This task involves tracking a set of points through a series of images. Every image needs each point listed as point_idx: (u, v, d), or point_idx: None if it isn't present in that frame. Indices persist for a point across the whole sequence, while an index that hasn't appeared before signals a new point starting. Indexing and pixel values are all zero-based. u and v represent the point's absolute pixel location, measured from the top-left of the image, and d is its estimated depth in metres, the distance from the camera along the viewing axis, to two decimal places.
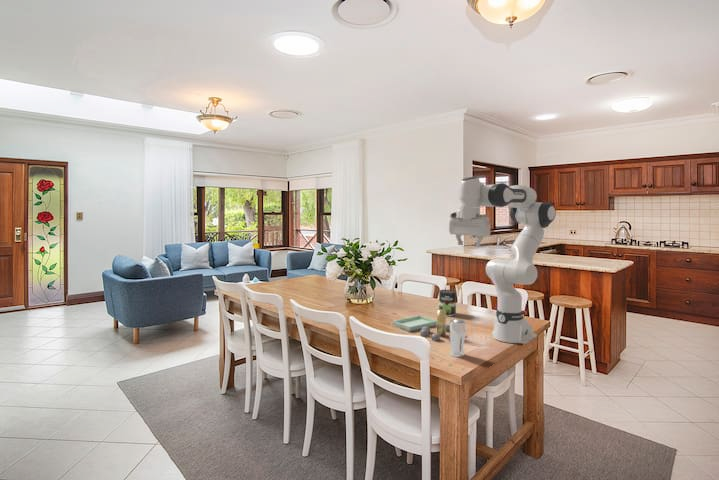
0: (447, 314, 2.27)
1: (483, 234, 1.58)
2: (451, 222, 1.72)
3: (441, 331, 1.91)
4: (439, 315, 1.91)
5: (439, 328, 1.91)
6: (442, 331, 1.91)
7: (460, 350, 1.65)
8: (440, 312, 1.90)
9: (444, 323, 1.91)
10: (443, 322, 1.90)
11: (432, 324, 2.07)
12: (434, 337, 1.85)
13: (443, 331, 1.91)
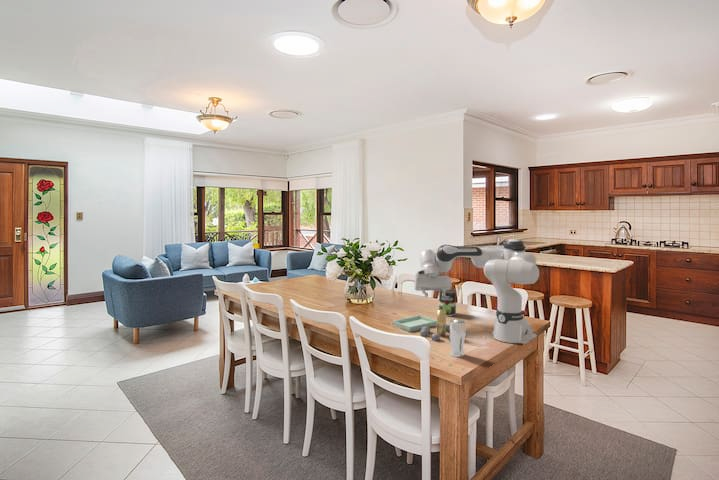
0: (447, 314, 2.27)
1: (450, 285, 2.07)
2: (418, 278, 2.08)
3: (441, 331, 1.91)
4: (439, 315, 1.91)
5: (439, 328, 1.91)
6: (442, 331, 1.91)
7: (460, 350, 1.65)
8: (440, 312, 1.90)
9: (444, 323, 1.91)
10: (443, 322, 1.90)
11: (432, 324, 2.07)
12: (434, 337, 1.85)
13: (443, 331, 1.91)
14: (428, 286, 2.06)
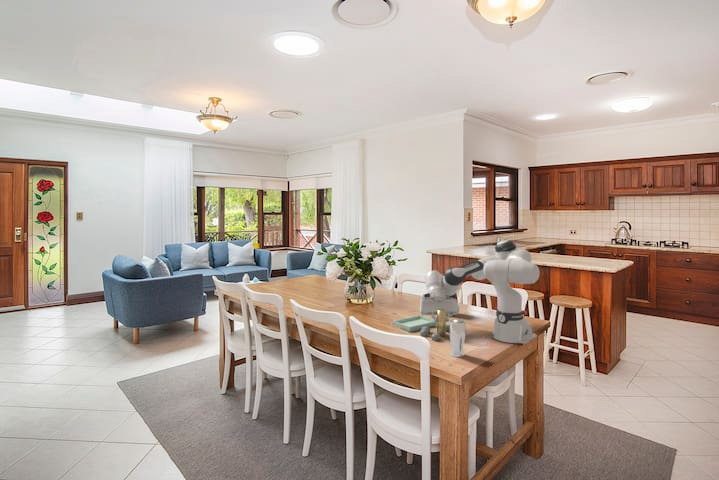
0: None
1: (458, 309, 1.95)
2: (423, 302, 1.96)
3: (441, 331, 1.91)
4: (439, 315, 1.91)
5: (439, 328, 1.91)
6: (442, 331, 1.91)
7: (460, 350, 1.65)
8: (440, 312, 1.90)
9: (444, 323, 1.91)
10: (443, 322, 1.90)
11: (432, 324, 2.07)
12: (434, 337, 1.85)
13: (443, 331, 1.91)
14: (434, 310, 1.94)
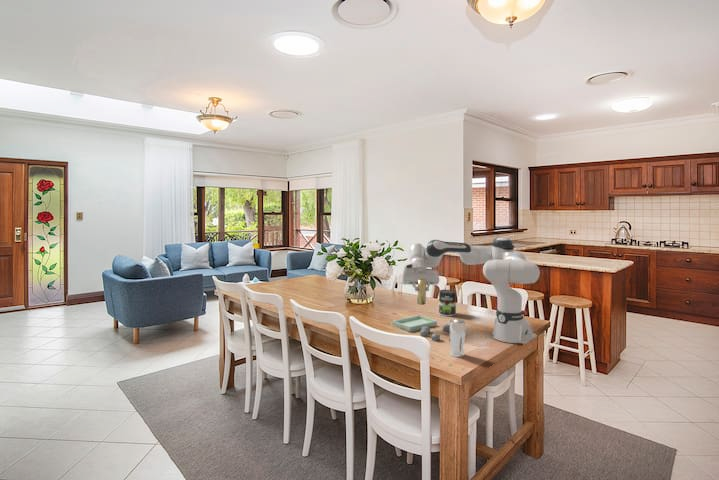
0: (447, 314, 2.27)
1: (437, 280, 2.06)
2: (405, 272, 2.08)
3: (421, 299, 2.03)
4: (419, 284, 2.02)
5: (419, 296, 2.03)
6: (422, 299, 2.03)
7: (460, 350, 1.65)
8: (420, 281, 2.02)
9: (424, 292, 2.03)
10: (423, 291, 2.02)
11: (432, 324, 2.07)
12: (434, 337, 1.85)
13: (423, 299, 2.03)
14: (415, 280, 2.06)
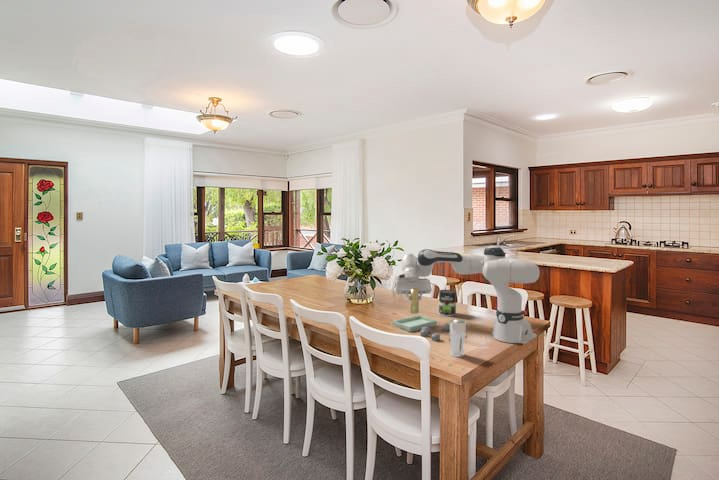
0: (447, 314, 2.27)
1: (430, 289, 2.11)
2: (398, 282, 2.12)
3: (414, 308, 2.07)
4: (412, 293, 2.07)
5: (412, 305, 2.07)
6: (415, 308, 2.07)
7: (460, 350, 1.65)
8: (413, 291, 2.06)
9: (417, 301, 2.07)
10: (416, 300, 2.07)
11: (432, 324, 2.07)
12: (434, 337, 1.85)
13: (416, 308, 2.07)
14: (408, 290, 2.10)
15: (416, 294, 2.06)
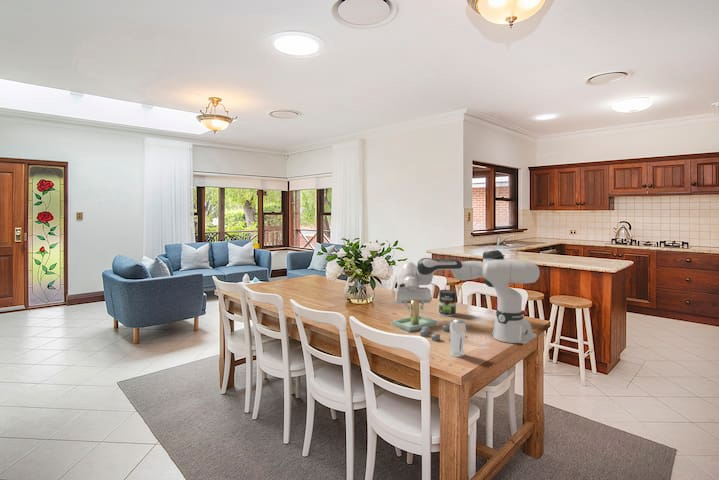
0: (447, 314, 2.27)
1: (430, 298, 2.11)
2: (398, 291, 2.12)
3: (414, 320, 2.07)
4: (412, 305, 2.07)
5: (412, 317, 2.08)
6: (415, 320, 2.07)
7: (460, 350, 1.65)
8: (413, 302, 2.07)
9: (417, 312, 2.07)
10: (416, 311, 2.07)
11: (432, 324, 2.07)
12: (434, 337, 1.85)
13: (416, 320, 2.07)
14: (408, 299, 2.10)
15: (416, 305, 2.07)
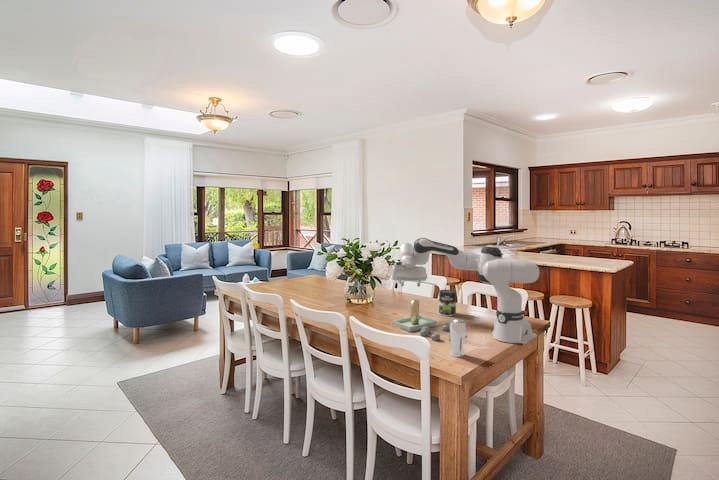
0: (447, 314, 2.27)
1: (425, 276, 2.19)
2: (395, 269, 2.21)
3: (414, 320, 2.07)
4: (412, 305, 2.07)
5: (412, 317, 2.08)
6: (415, 320, 2.07)
7: (460, 350, 1.65)
8: (413, 302, 2.07)
9: (417, 312, 2.07)
10: (416, 312, 2.07)
11: (432, 324, 2.07)
12: (434, 337, 1.85)
13: (416, 320, 2.07)
14: (404, 276, 2.18)
15: (416, 306, 2.07)
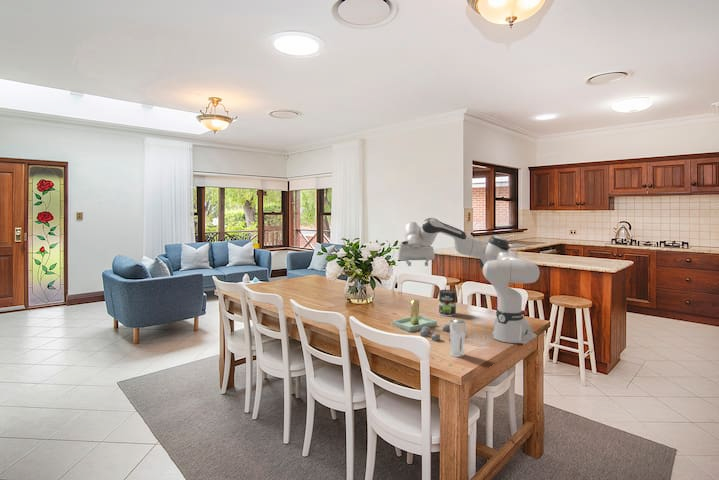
0: (447, 314, 2.27)
1: (433, 255, 2.10)
2: (401, 248, 2.12)
3: (414, 320, 2.07)
4: (412, 305, 2.07)
5: (412, 317, 2.08)
6: (415, 320, 2.07)
7: (460, 350, 1.65)
8: (413, 302, 2.07)
9: (417, 312, 2.07)
10: (416, 311, 2.07)
11: (432, 324, 2.07)
12: (434, 337, 1.85)
13: (416, 320, 2.07)
14: (411, 256, 2.09)
15: (416, 305, 2.07)
